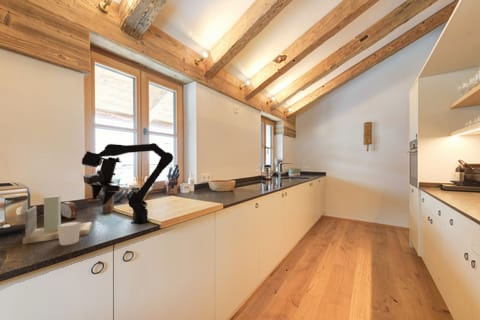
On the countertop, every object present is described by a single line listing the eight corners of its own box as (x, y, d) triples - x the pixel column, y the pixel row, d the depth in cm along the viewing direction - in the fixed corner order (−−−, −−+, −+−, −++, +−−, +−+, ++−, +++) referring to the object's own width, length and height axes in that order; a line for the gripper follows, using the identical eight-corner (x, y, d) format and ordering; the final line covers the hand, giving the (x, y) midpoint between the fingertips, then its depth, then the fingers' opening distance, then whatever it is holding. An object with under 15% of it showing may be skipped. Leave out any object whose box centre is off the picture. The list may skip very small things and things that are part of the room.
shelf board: (91, 226, 98) (91, 200, 98) (88, 234, 88) (88, 205, 88) (33, 233, 88) (33, 205, 88) (22, 244, 78) (22, 212, 78)
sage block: (60, 227, 90) (60, 195, 90) (58, 230, 87) (58, 196, 87) (47, 229, 88) (46, 196, 88) (44, 232, 85) (43, 197, 84)
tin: (78, 218, 110) (77, 203, 110) (70, 220, 107) (70, 204, 107) (66, 214, 118) (66, 200, 118) (59, 216, 115) (59, 201, 115)
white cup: (54, 247, 75) (54, 228, 75) (61, 240, 81) (61, 222, 81) (77, 244, 78) (77, 225, 78) (83, 237, 84) (82, 220, 84)
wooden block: (111, 213, 121) (111, 182, 121) (102, 214, 119) (102, 182, 119) (113, 209, 129) (113, 180, 129) (105, 210, 128) (105, 181, 127)
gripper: (79, 163, 98) (70, 196, 97) (99, 171, 88) (89, 207, 87) (104, 167, 107) (96, 196, 106) (124, 174, 98) (115, 207, 97)
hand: (98, 201), depth 99 cm, fingers open, 9 cm apart
